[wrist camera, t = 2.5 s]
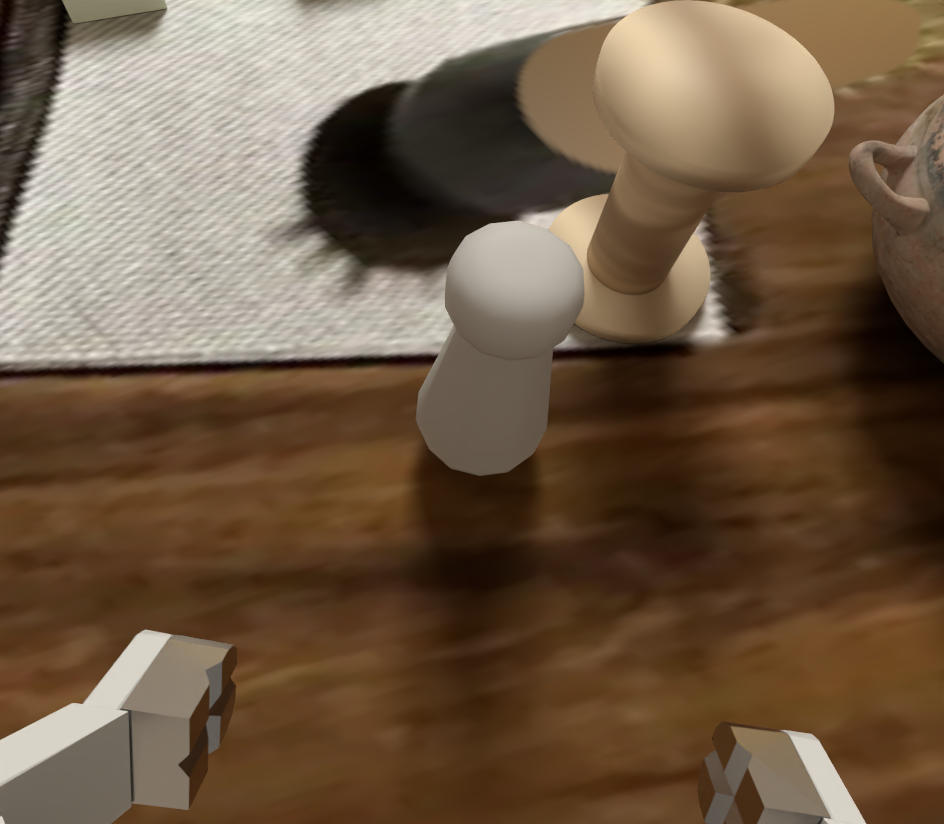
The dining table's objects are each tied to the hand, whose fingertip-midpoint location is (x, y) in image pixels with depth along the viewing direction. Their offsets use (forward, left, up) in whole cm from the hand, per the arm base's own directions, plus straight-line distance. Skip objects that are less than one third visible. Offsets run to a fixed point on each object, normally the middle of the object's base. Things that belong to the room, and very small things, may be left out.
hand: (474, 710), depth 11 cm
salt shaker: (+6, +10, -17) cm, 20 cm away
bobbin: (+17, +16, -16) cm, 29 cm away
